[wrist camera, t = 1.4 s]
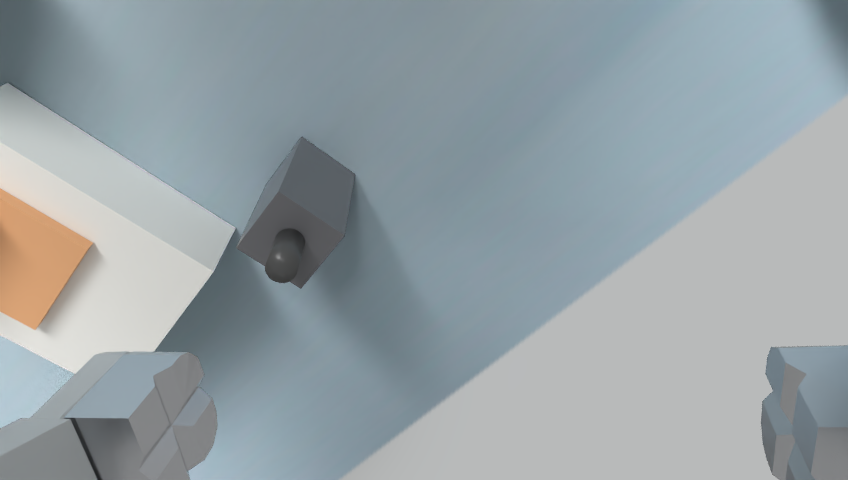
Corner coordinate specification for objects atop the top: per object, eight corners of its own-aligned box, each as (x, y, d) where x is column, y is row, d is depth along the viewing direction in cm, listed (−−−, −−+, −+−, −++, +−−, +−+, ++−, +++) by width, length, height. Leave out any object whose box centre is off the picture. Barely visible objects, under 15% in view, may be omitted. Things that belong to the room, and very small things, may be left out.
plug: (265, 184, 45) (222, 275, 34) (301, 136, 43) (268, 215, 32) (318, 220, 46) (293, 318, 35) (355, 174, 44) (340, 262, 34)
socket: (-67, 223, 45) (-130, 267, 40) (7, 82, 41) (-52, 110, 36) (150, 343, 50) (119, 397, 45) (235, 228, 46) (213, 271, 41)
